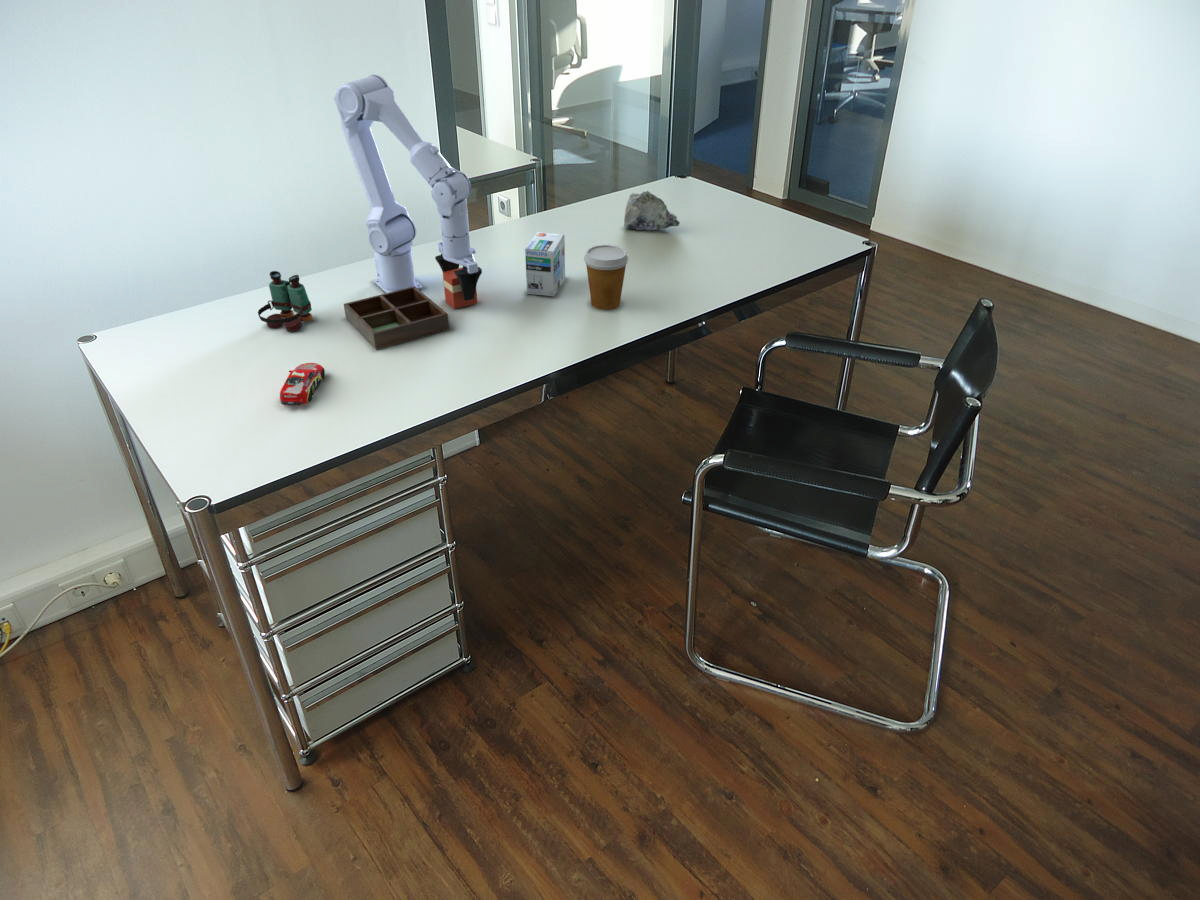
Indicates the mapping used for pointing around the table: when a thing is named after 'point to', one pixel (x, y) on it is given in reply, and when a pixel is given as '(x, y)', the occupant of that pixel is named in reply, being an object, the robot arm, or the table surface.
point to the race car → (301, 384)
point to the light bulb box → (545, 264)
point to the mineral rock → (648, 213)
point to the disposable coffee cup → (605, 275)
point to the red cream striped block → (455, 291)
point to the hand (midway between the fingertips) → (460, 292)
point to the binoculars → (287, 303)
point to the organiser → (396, 317)
